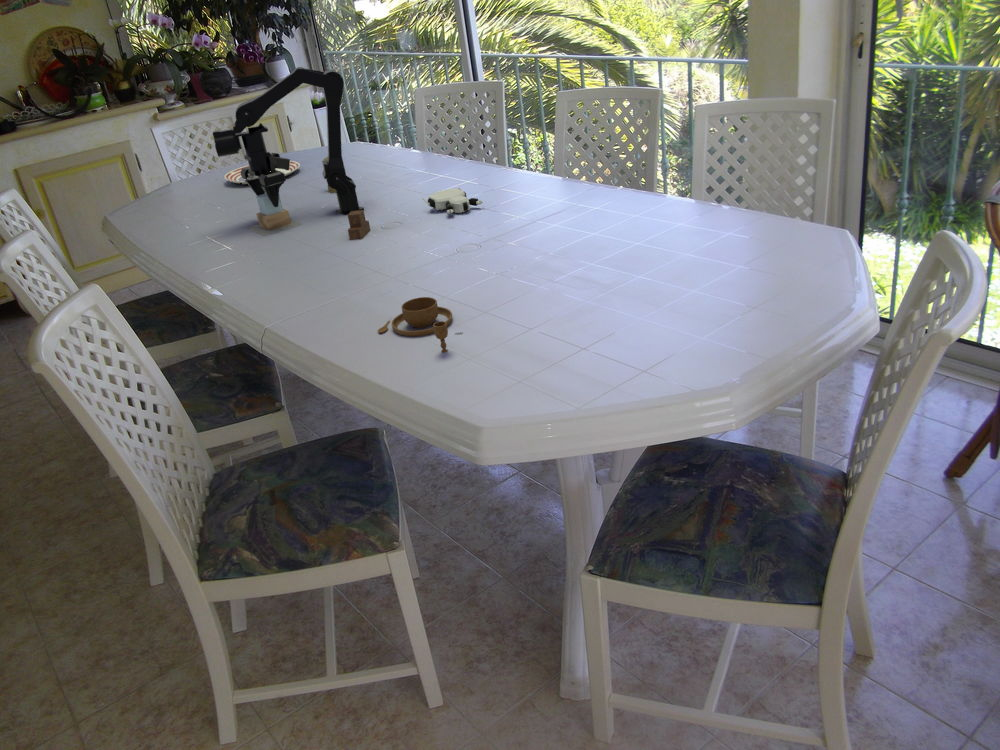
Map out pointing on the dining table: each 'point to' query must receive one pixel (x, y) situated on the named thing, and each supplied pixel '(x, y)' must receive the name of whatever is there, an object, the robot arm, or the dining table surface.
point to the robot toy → (451, 201)
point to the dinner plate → (236, 174)
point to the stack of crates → (358, 225)
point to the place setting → (422, 319)
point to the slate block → (268, 205)
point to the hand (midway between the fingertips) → (270, 204)
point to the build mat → (265, 232)
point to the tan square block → (274, 220)
